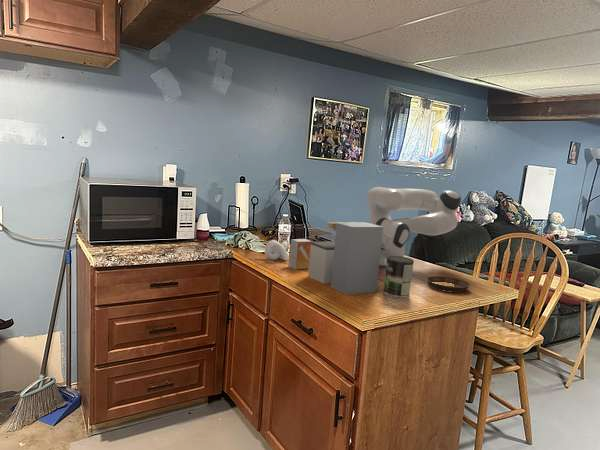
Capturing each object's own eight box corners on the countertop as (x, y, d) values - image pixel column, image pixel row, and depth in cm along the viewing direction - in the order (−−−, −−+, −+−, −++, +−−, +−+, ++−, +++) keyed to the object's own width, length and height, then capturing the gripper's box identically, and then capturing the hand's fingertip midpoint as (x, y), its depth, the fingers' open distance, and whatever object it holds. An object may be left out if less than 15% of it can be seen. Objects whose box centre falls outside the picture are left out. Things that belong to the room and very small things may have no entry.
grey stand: (360, 284, 176) (367, 222, 172) (376, 291, 168) (383, 226, 164) (331, 287, 169) (336, 222, 165) (345, 294, 160) (352, 227, 156)
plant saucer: (417, 282, 187) (418, 276, 187) (449, 281, 194) (450, 275, 193) (444, 295, 171) (445, 287, 170) (478, 293, 177) (479, 286, 177)
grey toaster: (342, 273, 192) (345, 240, 190) (358, 280, 182) (361, 246, 179) (308, 275, 183) (311, 241, 181) (323, 283, 173) (326, 247, 170)
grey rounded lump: (272, 255, 219) (274, 238, 217) (293, 258, 214) (295, 241, 212) (261, 258, 208) (263, 241, 207) (283, 262, 203) (284, 244, 202)
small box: (295, 269, 192) (297, 241, 190) (288, 266, 197) (290, 239, 195) (310, 268, 196) (312, 241, 194) (302, 265, 201) (304, 238, 200)
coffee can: (387, 297, 161) (391, 261, 159) (380, 289, 171) (383, 255, 169) (413, 298, 162) (418, 262, 160) (404, 290, 172) (408, 256, 170)
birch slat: (362, 228, 188) (363, 222, 187) (367, 230, 185) (368, 223, 184) (326, 229, 178) (327, 222, 178) (331, 230, 175) (332, 223, 175)
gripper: (366, 230, 200) (347, 215, 193) (395, 238, 183) (376, 222, 176) (359, 241, 199) (340, 227, 192) (389, 250, 182) (368, 235, 175)
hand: (357, 225), depth 184 cm, fingers closed on birch slat, 3 cm apart
